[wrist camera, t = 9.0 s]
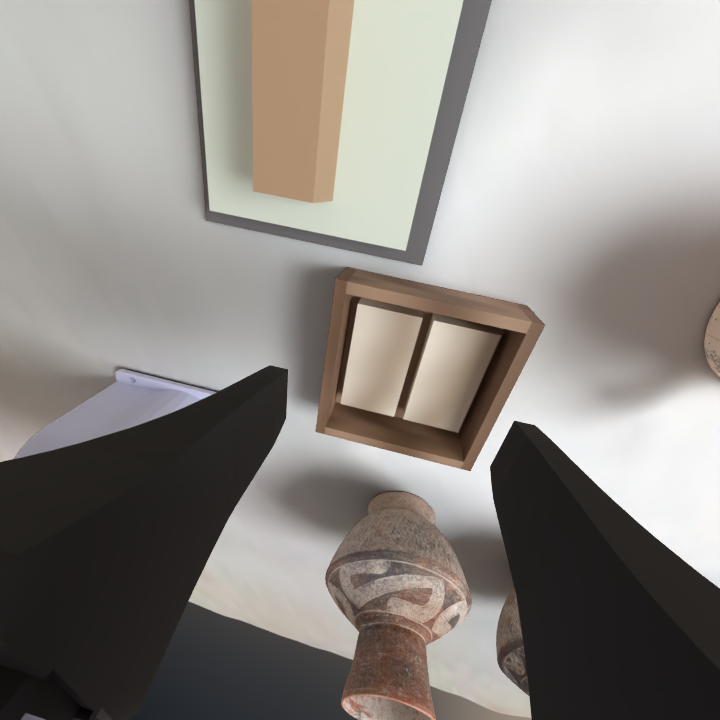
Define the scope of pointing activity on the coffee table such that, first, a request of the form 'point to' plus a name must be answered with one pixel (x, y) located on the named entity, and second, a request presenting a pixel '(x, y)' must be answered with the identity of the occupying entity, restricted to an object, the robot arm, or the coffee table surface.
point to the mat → (437, 159)
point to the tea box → (420, 366)
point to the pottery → (405, 608)
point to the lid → (322, 110)
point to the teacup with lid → (713, 341)
